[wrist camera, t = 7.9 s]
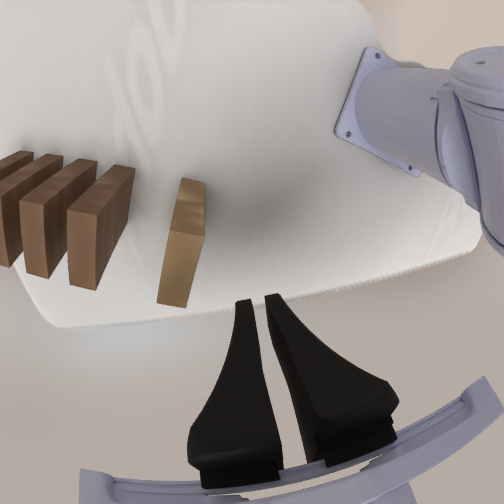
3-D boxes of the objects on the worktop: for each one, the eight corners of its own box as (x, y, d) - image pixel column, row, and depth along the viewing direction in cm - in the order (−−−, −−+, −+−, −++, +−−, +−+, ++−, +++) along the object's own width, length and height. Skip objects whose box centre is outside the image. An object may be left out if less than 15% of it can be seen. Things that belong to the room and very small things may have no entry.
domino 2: (135, 168, 17) (97, 215, 11) (126, 223, 19) (95, 290, 13) (114, 164, 17) (67, 209, 10) (107, 219, 19) (69, 284, 12)
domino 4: (63, 156, 16) (0, 196, 9) (60, 209, 18) (9, 267, 11) (46, 154, 15) (-18, 192, 8) (44, 206, 17) (-8, 262, 11)
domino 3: (97, 161, 17) (43, 205, 10) (91, 216, 19) (48, 279, 12) (78, 158, 16) (19, 200, 9) (74, 212, 18) (26, 273, 11)
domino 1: (204, 182, 19) (204, 237, 12) (189, 236, 21) (185, 308, 14) (182, 177, 18) (169, 230, 12) (169, 231, 20) (156, 303, 14)
